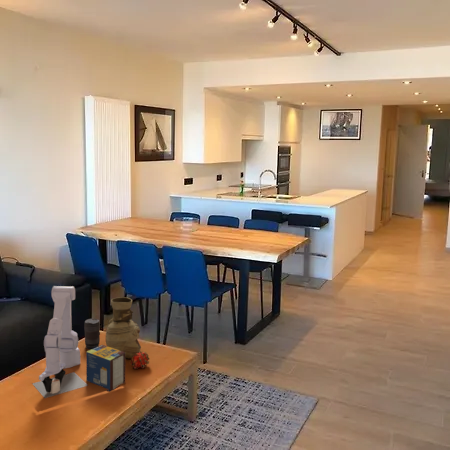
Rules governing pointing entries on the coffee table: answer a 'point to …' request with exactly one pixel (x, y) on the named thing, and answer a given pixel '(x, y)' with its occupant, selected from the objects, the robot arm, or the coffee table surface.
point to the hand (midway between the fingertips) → (53, 388)
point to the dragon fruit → (140, 360)
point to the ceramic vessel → (123, 328)
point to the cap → (55, 386)
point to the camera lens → (92, 333)
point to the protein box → (105, 367)
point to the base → (62, 385)
